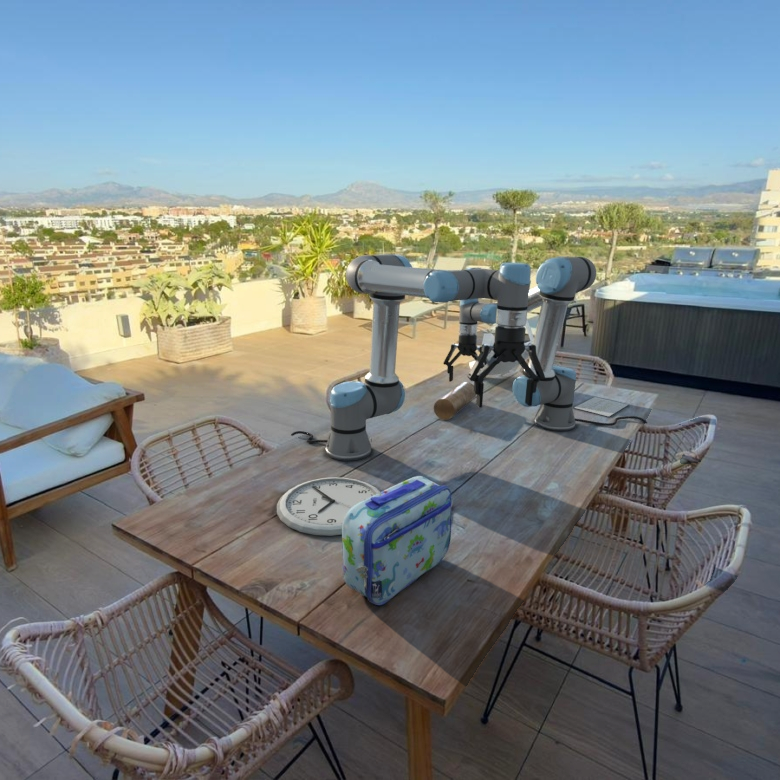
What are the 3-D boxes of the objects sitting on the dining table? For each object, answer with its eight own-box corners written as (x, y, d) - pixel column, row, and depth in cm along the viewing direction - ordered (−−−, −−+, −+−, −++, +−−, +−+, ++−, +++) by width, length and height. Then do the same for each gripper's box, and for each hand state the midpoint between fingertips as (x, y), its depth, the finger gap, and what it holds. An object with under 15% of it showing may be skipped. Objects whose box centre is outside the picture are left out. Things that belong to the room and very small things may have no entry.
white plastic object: (489, 418, 267) (470, 395, 242) (471, 346, 289) (451, 318, 264) (561, 394, 254) (547, 368, 230) (535, 321, 277) (521, 289, 252)
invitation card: (608, 416, 214) (573, 407, 224) (608, 416, 214) (573, 408, 224) (628, 404, 229) (594, 396, 238) (628, 405, 229) (594, 397, 238)
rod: (456, 399, 233) (458, 380, 230) (475, 402, 229) (477, 383, 227) (433, 417, 210) (434, 397, 207) (453, 421, 206) (454, 400, 203)
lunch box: (371, 618, 102) (371, 524, 95) (336, 591, 109) (334, 502, 103) (455, 562, 119) (460, 479, 113) (420, 542, 126) (423, 463, 120)
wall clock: (392, 527, 129) (268, 531, 127) (391, 533, 130) (269, 537, 127) (383, 473, 158) (282, 475, 155) (383, 478, 158) (282, 480, 156)
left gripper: (467, 329, 127) (462, 411, 133) (563, 328, 130) (554, 408, 137) (458, 323, 134) (454, 401, 140) (550, 322, 138) (542, 399, 144)
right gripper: (436, 332, 221) (435, 381, 227) (494, 337, 210) (491, 388, 216) (443, 330, 228) (442, 377, 234) (499, 334, 217) (496, 384, 223)
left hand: (503, 405), depth 139 cm, fingers open, 13 cm apart
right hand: (465, 382), depth 225 cm, fingers open, 13 cm apart
